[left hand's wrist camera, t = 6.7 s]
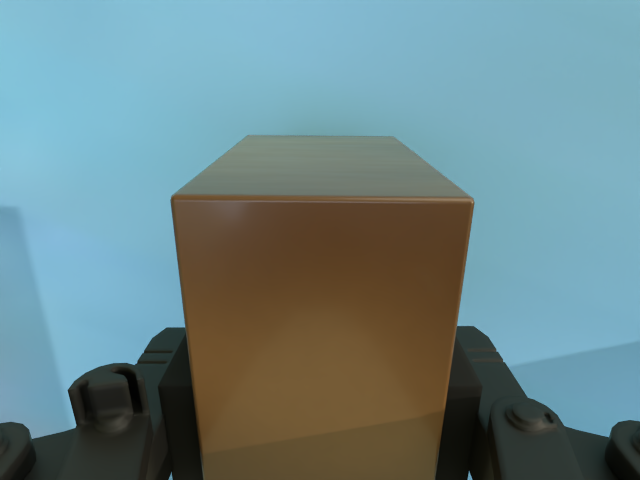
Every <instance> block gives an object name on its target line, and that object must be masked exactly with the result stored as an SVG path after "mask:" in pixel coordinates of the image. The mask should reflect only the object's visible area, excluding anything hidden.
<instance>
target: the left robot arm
mask: <svg viewBox="0 0 640 480" xmlns="http://www.w3.org/2000/svg"><path fill="white" fill-rule="evenodd" d="M68 393H69V397H70V401H71V405H72V409H73V413H74V417H75V421H76V425H77V426H76V428H74V429H71V430H68V431H64V432H60V433H56V434H52V435H48V436H43V437H39V438H35V439H32V438H31V435H30V432H29V429H28V428H26V427H25V426H24V425H23V424H20V423H14V422H7V423H0V480H168V479H169V477H170V474H171V471H172V477H173V480H203V473H202V464H201V456H200V447H199V439H198V430H197V422H196V413H195V405H194V396H193V388H192V379H191V371H190V362H189V354H188V345H187V337H186V328H166V329H164V330H163V331H161V332H160V333H159V334H157V335H156V336H155V337H153V338H152V340H151V341H150V343H149V344H148V346H147V347H146V349H145V350H144V353H142V355H141V357H140V358H139V360H138V363H137V364H135V365H132V364H128V363H113V364H109V365H105V366H101V367H98V368H96V369H93V370H91V371H89V372H87V373H85V374H84V375H82V376H81V377H79V378H78V379H77V380H75V381H74V383H73V384H72V385H71V387H70V388H69V389H68ZM469 471H470V474H471V477H472V479H473V480H640V422H639V421H632V420H628V421H622V422H618V423H617V424H616V425H615V426H614V427H612V430H611V433H610V436H609V437H605V436H600V435H596V434H592V433H587V432H583V431H579V430H575V429H572V428H569V427H565V426H564V425H563V423H562V422H561V420H560V419H559V417H558V416H557V414H555V413H554V412H553V411H552V410H551V409H549V408H548V407H547V406H545V405H543V404H541V403H539V402H537V401H535V400H533V399H530V398H528V397H527V396H526V394H525V393H524V391H523V390H522V388H521V387H520V385H519V384H518V382H517V380H516V379H515V377H514V376H513V374H512V373H511V371H510V370H509V368H508V367H507V365H506V364H505V362H503V359H502V357H501V356H500V354H499V353H498V352H496V348H495V347H494V345H493V344H492V342H491V341H490V339H489V337H488V336H486V335H485V334H483V333H482V332H481V331H479V330H478V329H477V328H475V327H474V326H457V329H456V336H455V343H454V350H453V357H452V364H451V371H450V378H449V385H448V392H447V399H446V406H445V413H444V420H443V427H442V434H441V441H440V448H439V455H438V462H437V469H436V476H435V480H467V479H468V473H469Z"/></svg>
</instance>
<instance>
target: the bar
mask: <svg viewBox="0 0 640 480" xmlns="http://www.w3.org/2000/svg"><path fill="white" fill-rule="evenodd" d="M170 201H171V209H172V218H173V226H174V235H175V243H176V252H177V260H178V269H179V277H180V286H181V294H182V303H183V311H184V320H185V328H186V337H187V345H188V354H189V362H190V371H191V379H192V388H193V396H194V405H195V413H196V422H197V430H198V439H199V447H200V456H201V464H202V473H203V480H435V476H436V469H437V462H438V455H439V448H440V441H441V434H442V427H443V420H444V413H445V406H446V399H447V392H448V385H449V378H450V371H451V364H452V357H453V350H454V343H455V336H456V329H457V321H458V314H459V307H460V300H461V293H462V286H463V279H464V272H465V265H466V258H467V251H468V244H469V237H470V230H471V223H472V216H473V209H474V199H473V198H472V197H471V196H469V195H468V194H467V193H466V192H464V191H463V190H462V189H461V188H459V187H458V186H457V185H455V184H454V183H453V182H452V181H450V180H449V179H448V178H446V177H445V176H444V175H443V174H441V173H440V172H439V171H437V170H436V169H435V168H434V167H432V166H431V165H430V164H428V163H427V162H426V161H425V160H423V159H422V158H421V157H419V156H418V155H417V154H416V153H414V152H413V151H412V150H410V149H409V148H408V147H407V146H405V145H404V144H403V143H401V142H400V141H399V140H398V139H396V138H395V137H393V136H293V135H248V136H246V137H245V138H244V139H242V140H241V141H240V142H239V143H237V144H236V145H235V146H234V147H232V148H231V149H230V150H229V151H227V152H226V153H225V154H224V155H222V156H221V157H220V158H219V159H217V160H216V161H215V162H213V163H212V164H211V165H210V166H208V167H207V168H206V169H205V170H203V171H202V172H201V173H200V174H198V175H197V176H196V177H195V178H193V179H192V180H191V181H190V182H188V183H187V184H186V185H184V186H183V187H182V188H181V189H179V190H178V191H177V192H176V193H174V194H173V195H172V196H171V200H170Z"/></svg>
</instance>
